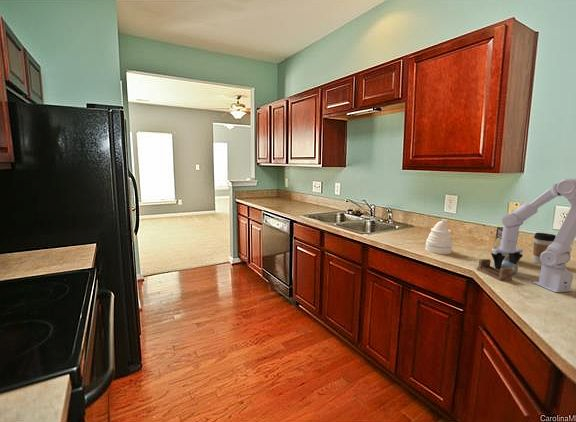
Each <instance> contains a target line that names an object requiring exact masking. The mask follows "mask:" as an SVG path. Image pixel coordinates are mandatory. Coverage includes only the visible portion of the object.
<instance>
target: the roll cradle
mask: <svg viewBox="0 0 576 422" xmlns="http://www.w3.org/2000/svg"><path fill="white" fill-rule="evenodd" d="M491 263H492V259H490V258H483V259H482V258H480V259H478V266H477V268H476V270H477V271H478V272H481V273H483V274H485V275H487V276H490V277H492V278H493V279H494V280H495V279H496V280H497V281H501V282H502V281H503V282H504V281H512V280H513V277H512V270H513V269H512V268H500V270H499V269H497V268H495V267H494V266H491Z"/></svg>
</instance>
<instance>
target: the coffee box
mask: <svg viewBox="0 0 576 422" xmlns="http://www.w3.org/2000/svg"><path fill="white" fill-rule="evenodd" d="M502 232H503V226H502V227H501V226H497V227H496V233H495V239H494V245H493V249H496V248H499V247H500V245H501V239H502ZM519 232H520V231H519ZM519 232H518V234H519ZM518 238H519V237H518ZM518 238H517V240H518ZM517 244H518V243H517ZM517 244H516V246H517ZM502 255H503V256H505V258H504V259H503V260H506V261H508V262H509V254H508V253H503V254H502Z"/></svg>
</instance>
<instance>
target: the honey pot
mask: <svg viewBox="0 0 576 422" xmlns="http://www.w3.org/2000/svg"><path fill="white" fill-rule="evenodd" d="M447 221H448V219H445V218H442V219H441V220H440V221H438V222H437V223H435V224H434V225H433V226H434V227H432V228H430V233H429V234H428V236H427V238H426V242H425V250H426V251H427V252H429V253H432V252H433V253H432V254H437V253H438V255H450V254H451V253H452V248H453V241H452V239H451V238H452V236H451V235H450V234H451V233H452V230H450V229H449V228H448V226H447V224H446V223H447ZM449 253H450V254H449Z"/></svg>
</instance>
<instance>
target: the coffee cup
mask: <svg viewBox="0 0 576 422" xmlns="http://www.w3.org/2000/svg"><path fill="white" fill-rule="evenodd" d="M556 236H557V234H553V233H551V234H550V233H547V232H546V233H545V232H535V234H534V236H533V238H534V241H533V256H532V262H533V263H534V264H535V263H536V264H537V265H542V262H541V260H540V255H541V253H542V252H544V251H545V250H546V249H547V247H548V246H549V245H550V244H551V243H553V241H554V239H555V238H556Z"/></svg>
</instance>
